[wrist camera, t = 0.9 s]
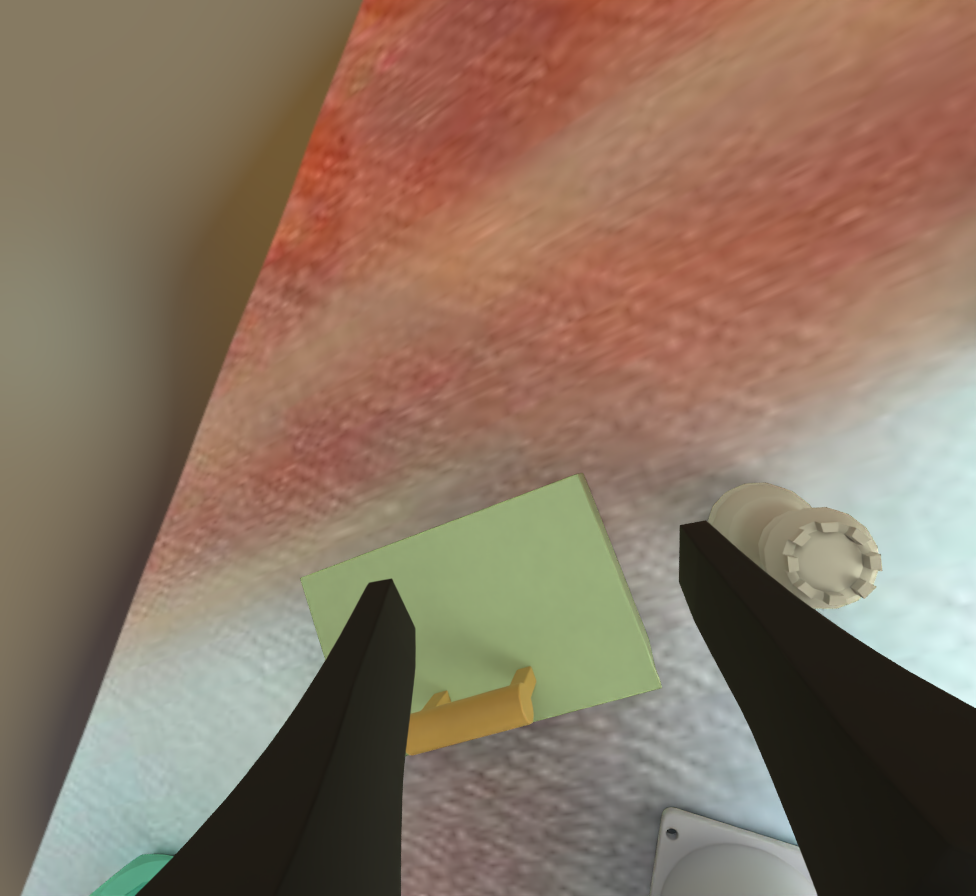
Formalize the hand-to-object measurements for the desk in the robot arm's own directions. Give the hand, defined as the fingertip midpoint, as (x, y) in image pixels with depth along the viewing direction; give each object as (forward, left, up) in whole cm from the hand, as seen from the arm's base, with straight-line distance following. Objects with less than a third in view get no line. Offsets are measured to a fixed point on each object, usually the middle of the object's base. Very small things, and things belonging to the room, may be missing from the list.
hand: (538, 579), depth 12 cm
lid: (-5, +4, -9) cm, 11 cm away
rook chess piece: (+1, -8, -13) cm, 15 cm away
